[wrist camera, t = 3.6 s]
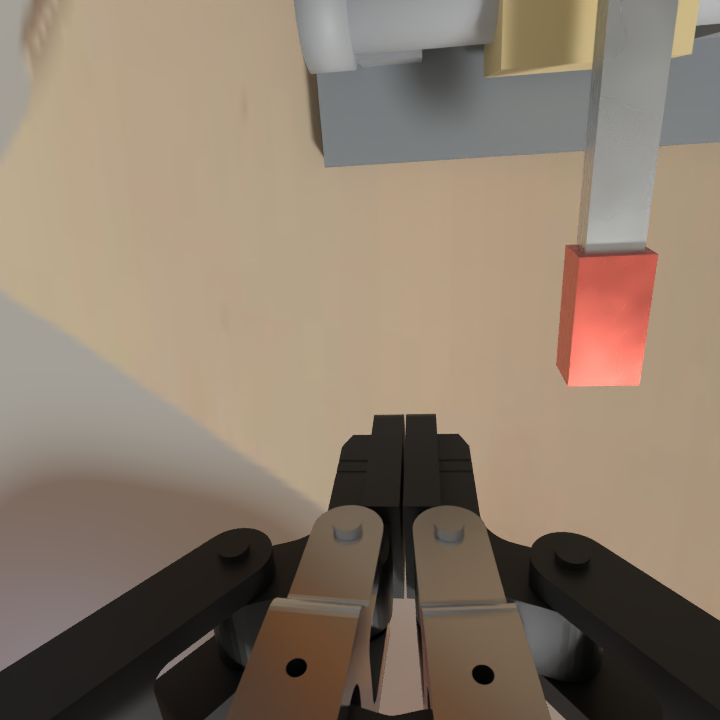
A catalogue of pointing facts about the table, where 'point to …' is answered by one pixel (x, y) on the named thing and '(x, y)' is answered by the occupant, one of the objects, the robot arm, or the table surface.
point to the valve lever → (617, 197)
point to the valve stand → (483, 77)
